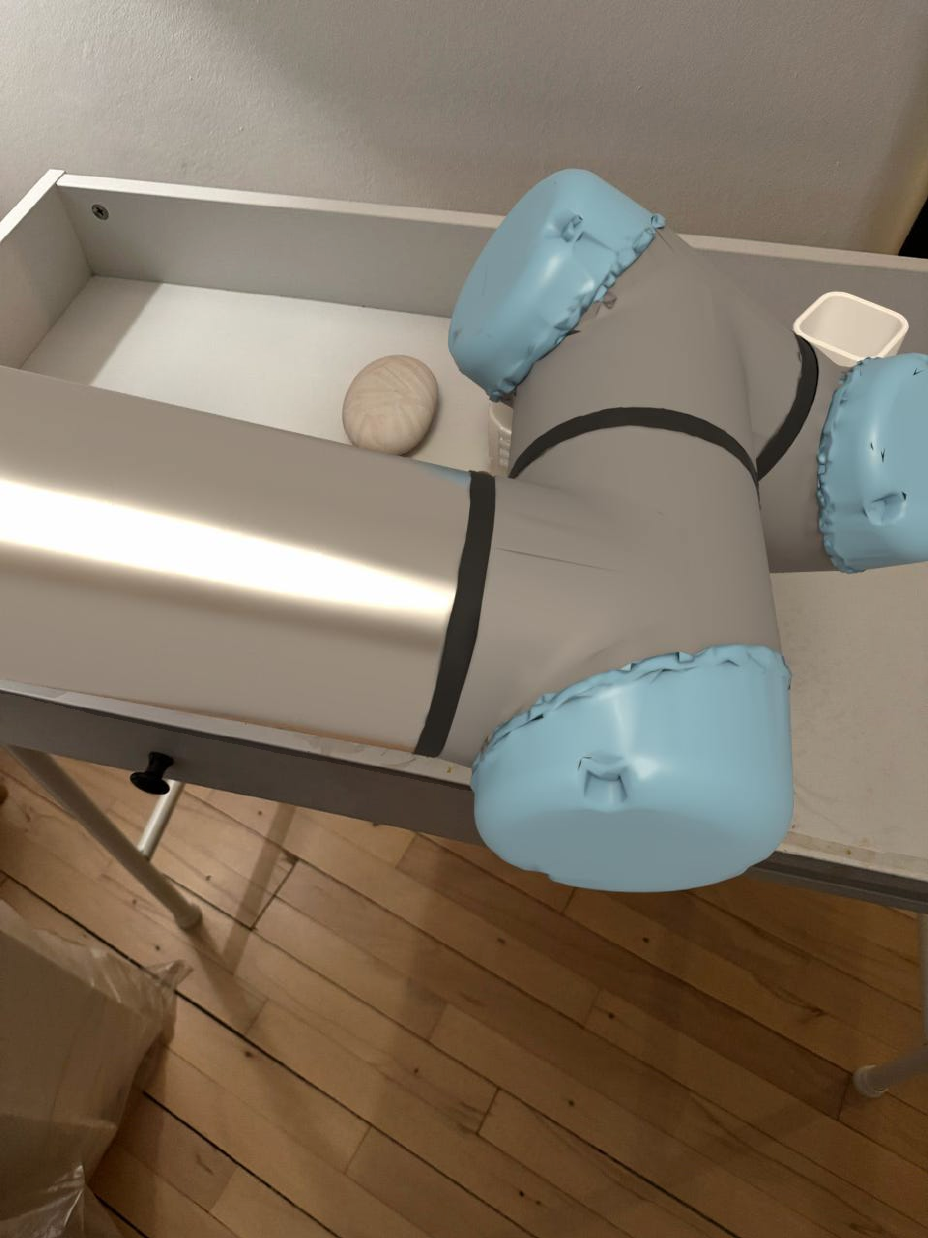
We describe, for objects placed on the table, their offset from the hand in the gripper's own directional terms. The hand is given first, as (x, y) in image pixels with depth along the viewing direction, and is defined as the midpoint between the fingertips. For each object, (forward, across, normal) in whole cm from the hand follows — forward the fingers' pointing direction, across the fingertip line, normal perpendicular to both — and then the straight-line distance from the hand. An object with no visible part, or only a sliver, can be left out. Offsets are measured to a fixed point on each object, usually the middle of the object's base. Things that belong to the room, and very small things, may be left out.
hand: (449, 542), depth 63 cm
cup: (-2, +33, -13) cm, 36 cm away
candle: (+9, +13, -2) cm, 16 cm away
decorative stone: (+20, +11, +9) cm, 24 cm away
